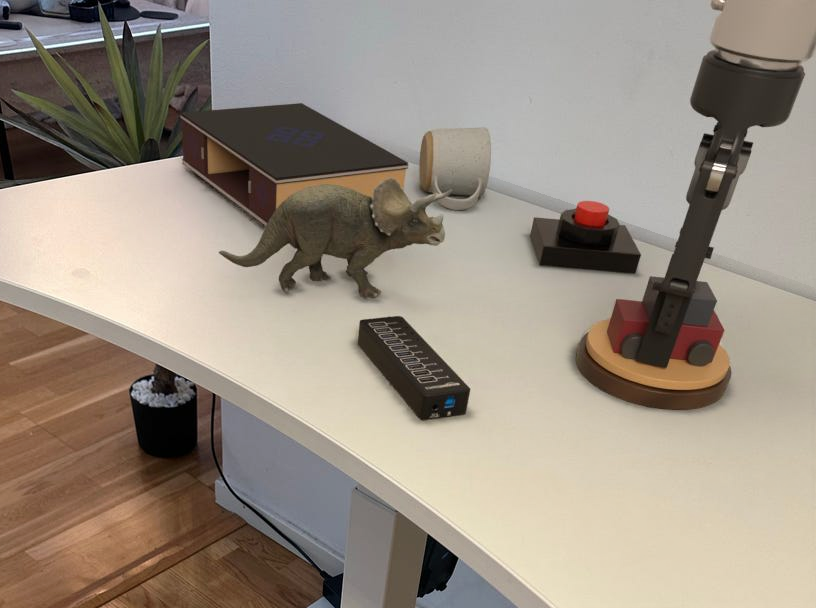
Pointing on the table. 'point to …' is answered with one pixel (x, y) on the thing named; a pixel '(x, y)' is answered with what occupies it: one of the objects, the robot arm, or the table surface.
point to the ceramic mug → (455, 164)
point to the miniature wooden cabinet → (280, 155)
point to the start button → (591, 213)
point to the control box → (584, 244)
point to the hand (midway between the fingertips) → (658, 343)
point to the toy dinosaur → (344, 230)
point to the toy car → (693, 352)
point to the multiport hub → (413, 368)
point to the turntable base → (643, 392)
